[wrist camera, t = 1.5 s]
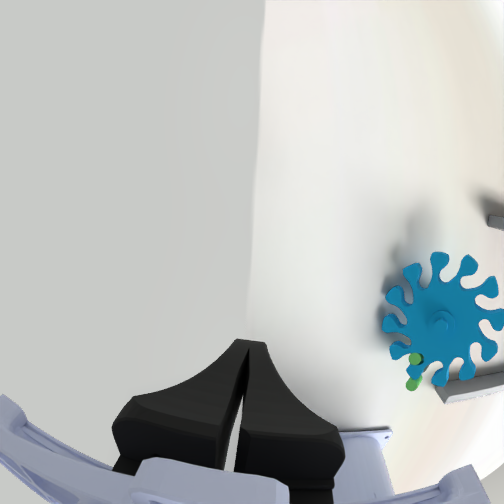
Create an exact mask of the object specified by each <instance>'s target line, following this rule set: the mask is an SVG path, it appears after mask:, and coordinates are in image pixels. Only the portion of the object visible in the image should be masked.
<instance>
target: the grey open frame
mask: <svg viewBox="0 0 504 504" xmlns="http://www.w3.org/2000/svg"><path fill="white" fill-rule="evenodd" d="M488 226H489V227H492V228H496V229H499V230H502V231H504V217H499V216H493V215H489V221H488ZM435 391H436V392H437V394H438V395H439V397H440V398H441V400H442V401H443V403H444V404H449V403H454V402H459V401H464V400H469V399H473V398H478V397H482V396H486V395H490V394H494V393H497V392H501V391H504V372H499V373H495V374H490V375H484V376H479V377H474V378H472V379H469V380H464V381H463V380H460V379H459V380H452V381H447V383H446V385H445V386H444V387H440V386H437V387H436V389H435Z"/></svg>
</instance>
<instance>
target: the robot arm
mask: <svg viewBox="0 0 504 504" xmlns="http://www.w3.org/2000/svg"><path fill="white" fill-rule="evenodd" d="M242 396H243V408H242V420H241V425H240V431H239V439H238V445H237V452H236V460H235V467H234V472H229V471H224V467H225V462H226V456H227V451H228V446H229V440H230V436H231V432H232V429H233V425H234V422H235V419H236V416H237V412H238V409H239V406H240V403H241V400H242ZM112 432H113V436H114V439H115V442H116V444H117V447H118V449H119V452H120V457H119V458H118V460H117V462H116V464H115V465H114V467H111V466H109V465H106V464H104V463H102V462H99V461H97V460H95V459H93V458H91V457H89V456H87V455H85V454H83V453H81V452H79V451H77V450H75V449H73V448H71V447H69V446H68V445H66V444H64V443H62V442H61V441H59V440H57V439H55V438H54V437H52V436H50V435H49V434H47V433H45V432H44V431H42V430H41V429H39V428H38V427H36V426H35V425H33V424H32V423H30V422H29V421H28V420H27V417H26V415H25V413H24V412H23V410H22V409H21V408H20V407H19V405H17V404H16V403H15V402H13V401H12V400H11V399H9V398H8V397H7V396H5V395H4V394H2V395H1V396H0V463H1V464H2V465H3V466H4V467H6V468H7V469H8V470H9V471H10V472H11V473H12V474H14V475H15V476H16V477H17V478H18V479H20V480H21V481H22V482H23V483H24V484H26V485H27V486H28V487H29V488H31V489H32V490H33V491H34V492H36V493H37V494H38V495H40V496H41V497H42V498H44V499H45V500H46V501H48V502H49V503H51V504H490V500H489V498H488V496H487V494H486V492H485V490H484V488H483V486H482V484H481V482H480V480H479V478H478V476H477V474H476V472H475V470H474V468H473V466H472V464H469V465H467V466H464V467H462V468H459V469H456V470H453V471H451V472H449V473H448V474H446V475H445V476H444V477H443V478H442V479H441V480H440V481H439V483H438V484H435V485H432V486H429V487H425V488H422V489H418V490H414V491H410V492H406V493H402V494H397V495H395V493H394V489H393V486H392V482H391V479H390V476H389V472H388V469H387V466H386V462H385V459H384V456H383V453H382V449H383V448H384V446H385V445H386V443H387V442H388V440H389V439H390V437H391V435H392V434H393V431H392V430H391V429H388V430H377V431H362V432H339V431H338V429H337V427H336V426H334V425H332V424H331V423H329V422H327V421H325V420H324V419H322V418H320V417H319V416H317V415H316V414H315V413H313V412H312V411H311V410H309V409H308V408H307V407H306V406H305V405H304V404H302V403H301V402H300V401H299V400H298V399H297V398H296V397H295V396H294V395H293V393H292V392H291V391H290V390H289V389H288V387H287V386H286V385H285V383H284V382H283V380H282V379H281V377H280V375H279V374H278V372H277V370H276V368H275V366H274V364H273V362H272V360H271V358H270V355H269V353H268V349H267V345H266V344H265V342H258V341H250V340H243V339H236V340H234V342H233V343H232V344H231V346H230V347H229V348H228V349H227V350H226V351H225V352H224V353H223V354H222V355H221V356H220V357H219V358H218V359H217V360H216V361H215V362H213V363H212V364H211V365H210V366H208V367H207V368H206V369H204V370H203V371H201V372H200V373H198V374H197V375H195V376H194V377H192V378H190V379H188V380H186V381H184V382H182V383H180V384H178V385H175V386H173V387H170V388H167V389H164V390H161V391H158V392H153V393H148V394H143V395H138V396H133V397H132V399H131V400H130V401H129V402H128V403H127V404H126V405H125V406H124V407H123V409H122V410H121V412H120V413H119V415H118V416H117V418H116V419H115V421H114V422H113V425H112Z"/></svg>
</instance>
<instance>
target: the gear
mask: <svg viewBox="0 0 504 504" xmlns="http://www.w3.org/2000/svg"><path fill="white" fill-rule="evenodd" d="M430 261H431V265H432V279H431V282H430V284H429V287H428V288H422V287H421V286H420V284H419V278H420V276H421V273H422V267H421V265H420V264H419V263H414V264H412V265H410V266H407V267H406V268H404V269H403V275H404V277H405V278H406V279H407V280H408V282H409V283H410V285H411V287H412V290H413V299H414V300H413V304H408V303H407V302H406V301H405V298H404V290H403V288H402V287H401V286H399V285H397V286H395V287H393V288H392V289H391V290H390V291H389V292H388V293H387V295H386V297H385V298H386V300H387V302H388V303H390V304H393V305H395V306H397V307H398V308H400V309H401V310H402V312H403V313H404V315H405V316H406V318H407V325H403V324H401V323H400V321H399V319H398V318H397V316H396V315H394V314H388V315H387V316H385V318H384V320H383V324H382V330H383V331H384V332H386V333H390V332H399V333H402V334H404V335H405V336H407V337H409V338H410V340H411V345H406V344H405V343H403V342H401V341H396V342H394V343H393V344H392V345H391V346H390V349H389V350H390V354H391V357H392V359H393V360H398V359H400V358H401V357H402V356H404V355H406V354H409V353H411V355H410V356H409V362H410V365H409V367H408V368H407V369H406V371H407V373H408V374H409V376H410V378H409V380H408V381H407V383H406V388H407V389H408V390H409V391H414V390H416V389H417V387H418V386H419V384H420V383H421V381H422V375H421V374H422V373H423V372H424V371H426V369H427V368H428V366H429V365H430V364H431V363H432V362H434V361H440V362H442V364H443V367H442V368H441V369H439V370H437V371H436V372H435V374H434V376H433V377H432V380H431V383H432V384H434V385H436V386H440V387H444V386H445V385H446V383H447V381H448V378H449V366H450V364H451V362H452V361H453V359H455V358H456V357H461V358H462V359H463V360H464V364H463V365H462V367H461V369H460V372H459V379H460V380H463V381H464V380H469V379H472V378H474V375H475V371H476V366H475V364H474V363H473V362H472V360H471V357H470V345H471V344H472V343H474V342H478V343H480V344H481V346H482V352H481V357H482V359H483V360H484V361H485V362H487V361H489V360H490V359H491V358H492V357H493V356H494V355H495V354H496V353H497V351H498V346H497V343H496V342H495V341H493V340H490V339H488V338H487V337H485V336H484V334H483V333H482V331H481V329H480V327H479V324H478V323H479V322H480V321H481V320H482V319H487V320H489V322H490V323H491V326H492V327H493V329H494V330H496V331H501V330H502V328H503V326H504V309H501V308H500V309H496V310H486V309H483V308H481V307H480V306H478V305H477V304H476V303H475V297H476V296H477V295H479V294H483V295H485V296H487V297H488V298H495V297H497V296H498V284H497V281H496V278H495V276H490V277H488V278H487V279H486V281H485V282H484V283H483V284H482V285H480V286H478V287H476V288H471V289H465V288H463V287H462V286H461V284H460V279H461V278H462V277H463V276H468V275H473V274H474V273H475V272H476V271H477V269H478V263H477V262H476V261H475V259H474V258H472V257H471V256H470V255H466V256H465V257H464V258H463V259H462V261H461V265H460V269H459V271H458V273H457V275H456V276H455V277H454V278H453V279H452V280H450V281H449V282H443V281H442V280H441V279H440V276H439V274H440V271H441V270H442V269H443V268H444V267H445V266H446V265H447V264H448V262H449V255H448V254H446V253H443V252H433V253H432V255H431V258H430Z"/></svg>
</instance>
